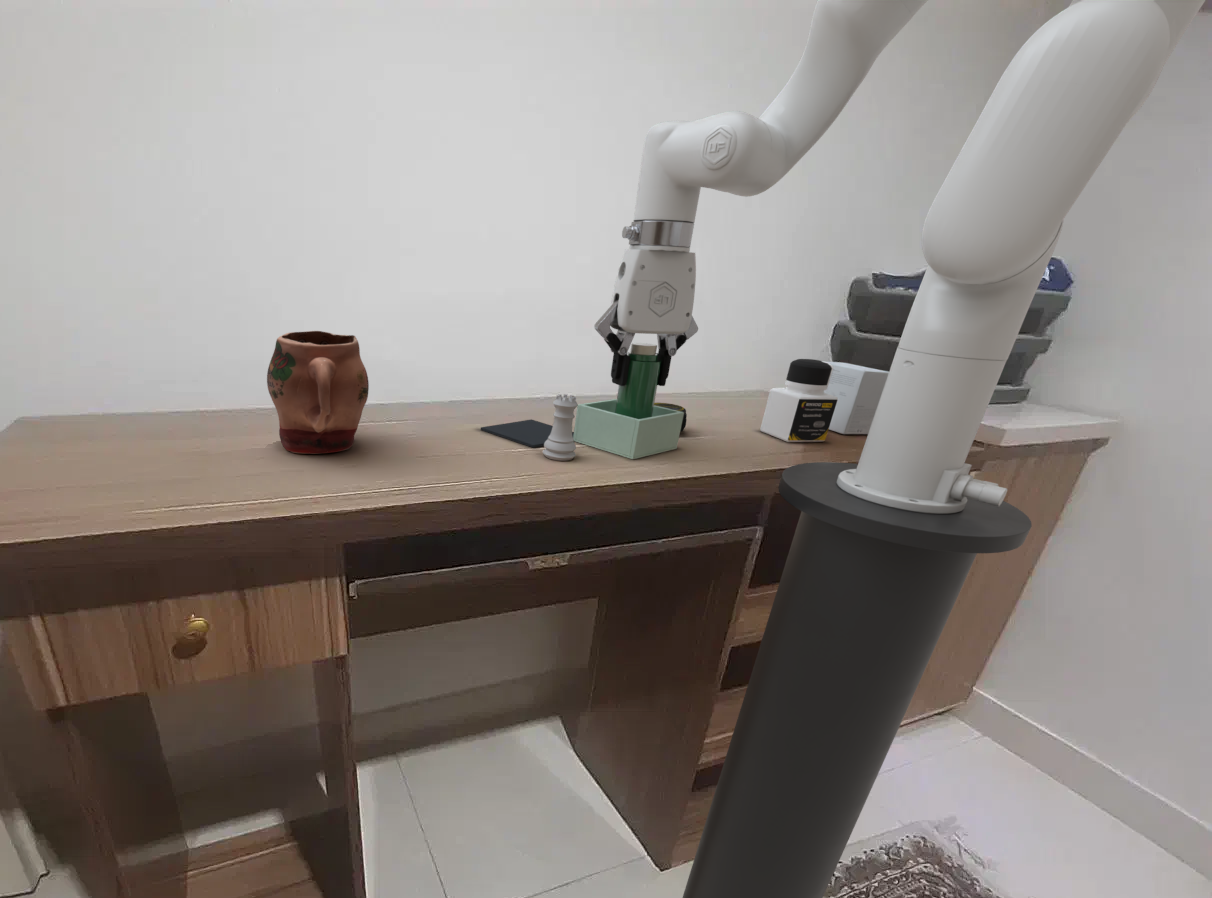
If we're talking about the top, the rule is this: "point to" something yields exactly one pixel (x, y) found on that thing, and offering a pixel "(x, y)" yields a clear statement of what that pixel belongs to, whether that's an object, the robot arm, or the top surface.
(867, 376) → the cosmetics box
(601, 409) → the case
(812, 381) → the medicine bottle
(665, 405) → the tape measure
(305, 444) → the brown clay mug
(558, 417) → the rook chess piece
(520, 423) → the mat
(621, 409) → the green bottle
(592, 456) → the top surface
